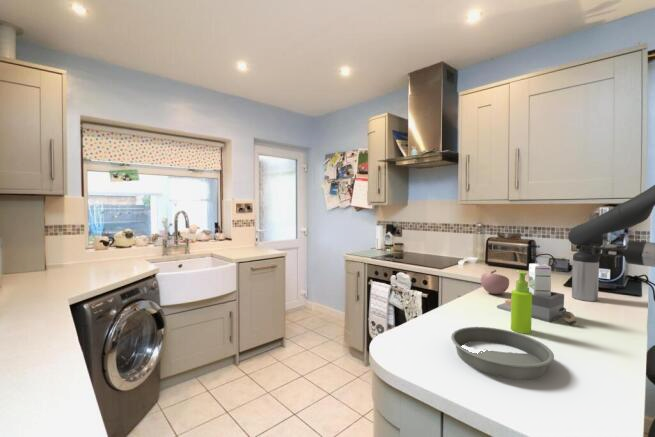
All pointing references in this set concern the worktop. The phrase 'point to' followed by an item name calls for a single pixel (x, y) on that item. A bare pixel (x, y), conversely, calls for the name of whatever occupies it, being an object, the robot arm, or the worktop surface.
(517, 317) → the soap dispenser
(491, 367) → the cake pan
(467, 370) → the worktop surface
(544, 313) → the socket
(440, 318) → the worktop surface
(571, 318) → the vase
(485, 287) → the pink apple
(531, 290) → the syrup box
